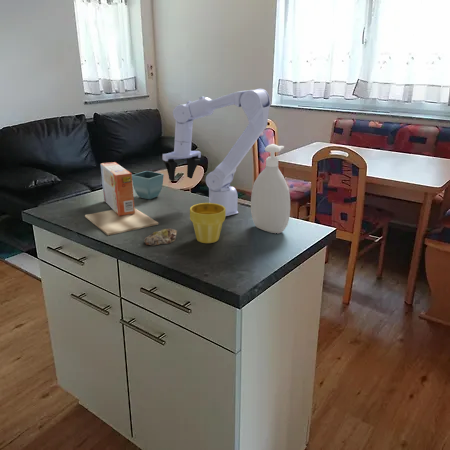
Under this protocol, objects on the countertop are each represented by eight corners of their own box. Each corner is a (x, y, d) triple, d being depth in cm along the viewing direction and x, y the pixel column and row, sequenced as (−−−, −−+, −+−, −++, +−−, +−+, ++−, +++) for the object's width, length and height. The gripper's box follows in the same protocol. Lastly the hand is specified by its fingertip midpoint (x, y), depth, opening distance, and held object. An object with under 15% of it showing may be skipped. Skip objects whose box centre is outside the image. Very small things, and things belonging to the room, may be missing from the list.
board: (132, 207, 162) (131, 206, 162) (158, 224, 147) (158, 222, 147) (85, 216, 153) (84, 215, 153) (107, 235, 138) (107, 233, 137)
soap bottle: (296, 231, 142) (303, 145, 133) (281, 238, 137) (286, 149, 127) (260, 220, 152) (263, 138, 142) (244, 226, 146) (247, 142, 137)
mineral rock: (165, 225, 141) (180, 225, 135) (168, 238, 141) (183, 239, 135) (135, 234, 134) (150, 235, 128) (139, 249, 135) (153, 250, 129)
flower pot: (165, 196, 175) (164, 173, 172) (149, 202, 168) (148, 178, 165) (147, 192, 180) (146, 170, 176) (132, 198, 173) (130, 175, 169)
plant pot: (213, 248, 129) (214, 216, 126) (183, 241, 134) (182, 210, 131) (231, 236, 138) (231, 206, 134) (202, 230, 142) (202, 200, 139)
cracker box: (133, 173, 149) (115, 161, 166) (115, 175, 146) (98, 162, 164) (136, 213, 154) (119, 197, 171) (118, 216, 151) (103, 200, 169)
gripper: (193, 136, 161) (191, 173, 167) (158, 138, 153) (156, 177, 158) (205, 141, 157) (202, 178, 162) (169, 144, 148) (167, 183, 153)
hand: (180, 178), depth 160 cm, fingers open, 7 cm apart
